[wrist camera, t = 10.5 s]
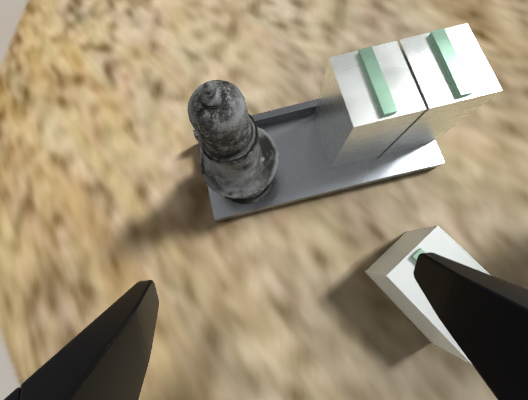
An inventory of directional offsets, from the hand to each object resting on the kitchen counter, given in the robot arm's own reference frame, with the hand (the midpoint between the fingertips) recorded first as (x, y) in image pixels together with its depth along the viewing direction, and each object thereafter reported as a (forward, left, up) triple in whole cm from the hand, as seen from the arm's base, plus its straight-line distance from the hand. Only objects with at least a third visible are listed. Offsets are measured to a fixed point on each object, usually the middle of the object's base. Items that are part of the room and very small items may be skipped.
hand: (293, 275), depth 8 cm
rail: (+9, -5, -13) cm, 17 cm away
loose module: (-4, -10, -14) cm, 17 cm away
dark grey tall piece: (+8, +2, -12) cm, 15 cm away
